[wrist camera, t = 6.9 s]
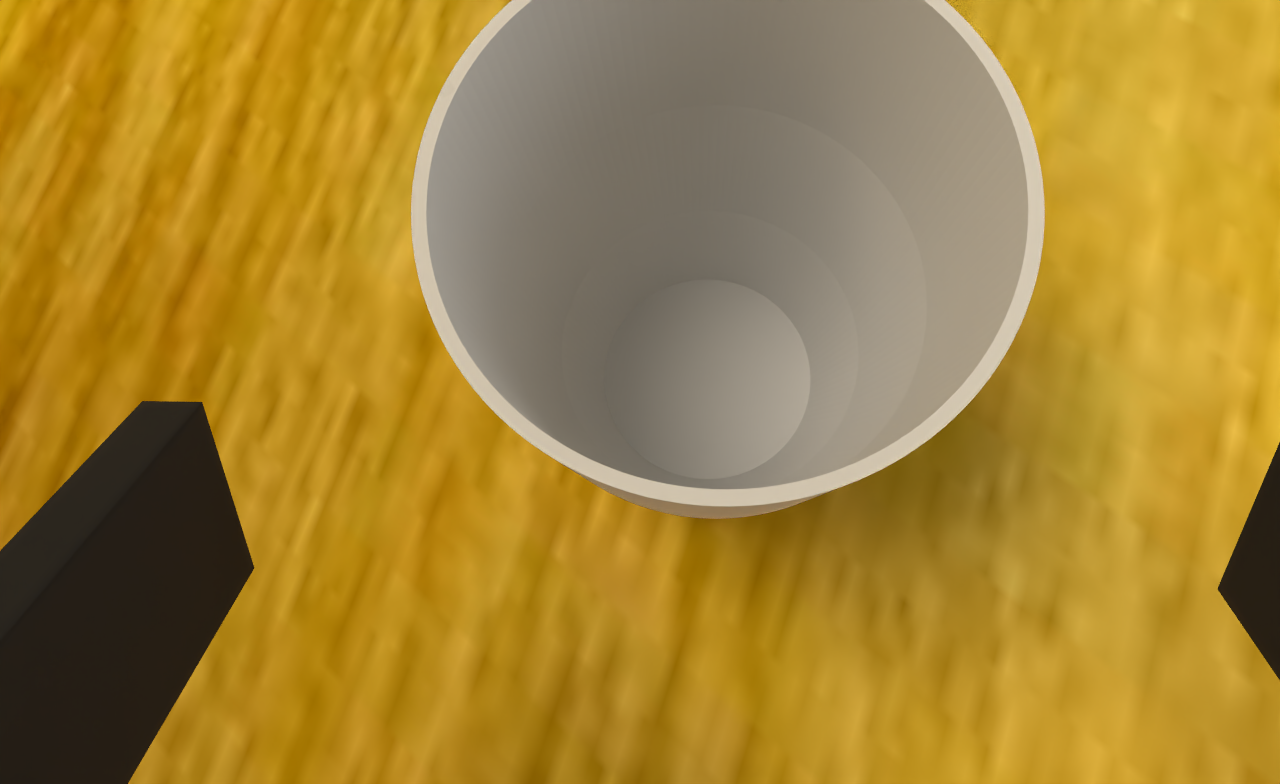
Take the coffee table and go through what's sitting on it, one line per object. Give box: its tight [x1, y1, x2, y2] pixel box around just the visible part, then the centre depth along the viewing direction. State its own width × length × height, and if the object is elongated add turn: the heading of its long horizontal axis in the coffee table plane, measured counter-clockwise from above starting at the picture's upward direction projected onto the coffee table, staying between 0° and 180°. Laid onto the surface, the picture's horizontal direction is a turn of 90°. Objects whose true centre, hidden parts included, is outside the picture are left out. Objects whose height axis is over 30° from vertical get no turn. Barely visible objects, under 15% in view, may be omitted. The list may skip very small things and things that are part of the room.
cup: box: [411, 0, 1045, 519], centre depth 17 cm, size 8×8×10 cm
